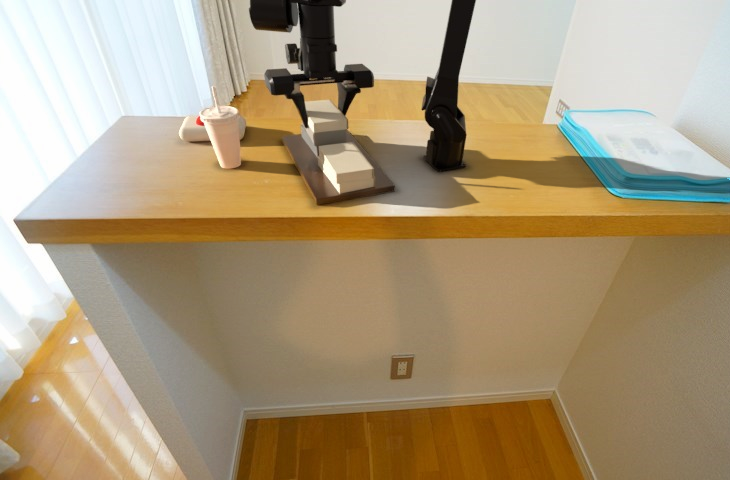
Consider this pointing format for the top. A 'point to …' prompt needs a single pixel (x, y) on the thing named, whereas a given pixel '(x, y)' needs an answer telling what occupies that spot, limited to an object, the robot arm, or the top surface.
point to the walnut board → (319, 181)
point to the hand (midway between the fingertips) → (323, 125)
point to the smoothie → (223, 132)
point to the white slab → (202, 129)
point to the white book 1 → (325, 116)
